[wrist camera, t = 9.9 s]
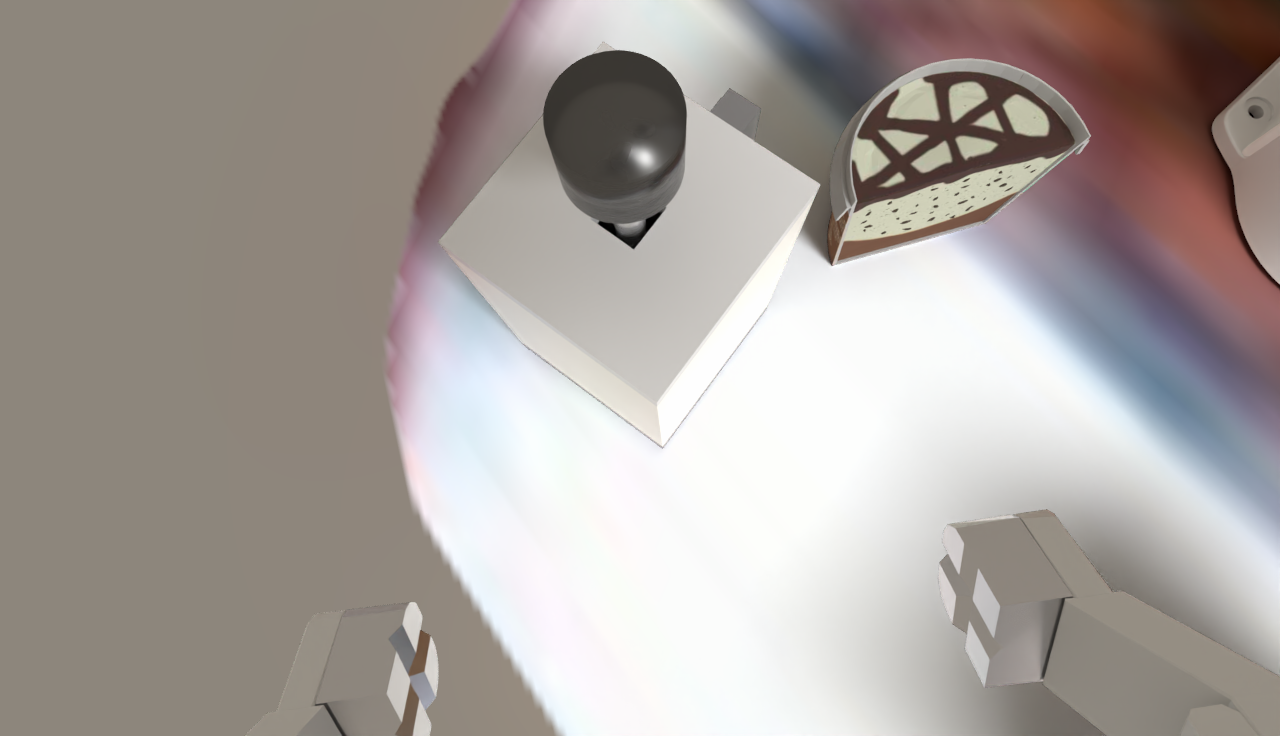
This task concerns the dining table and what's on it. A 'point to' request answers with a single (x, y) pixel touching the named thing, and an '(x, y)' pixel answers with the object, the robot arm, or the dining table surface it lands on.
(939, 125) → the food container
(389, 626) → the robot arm
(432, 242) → the dining table surface
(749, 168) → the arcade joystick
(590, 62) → the plunger
